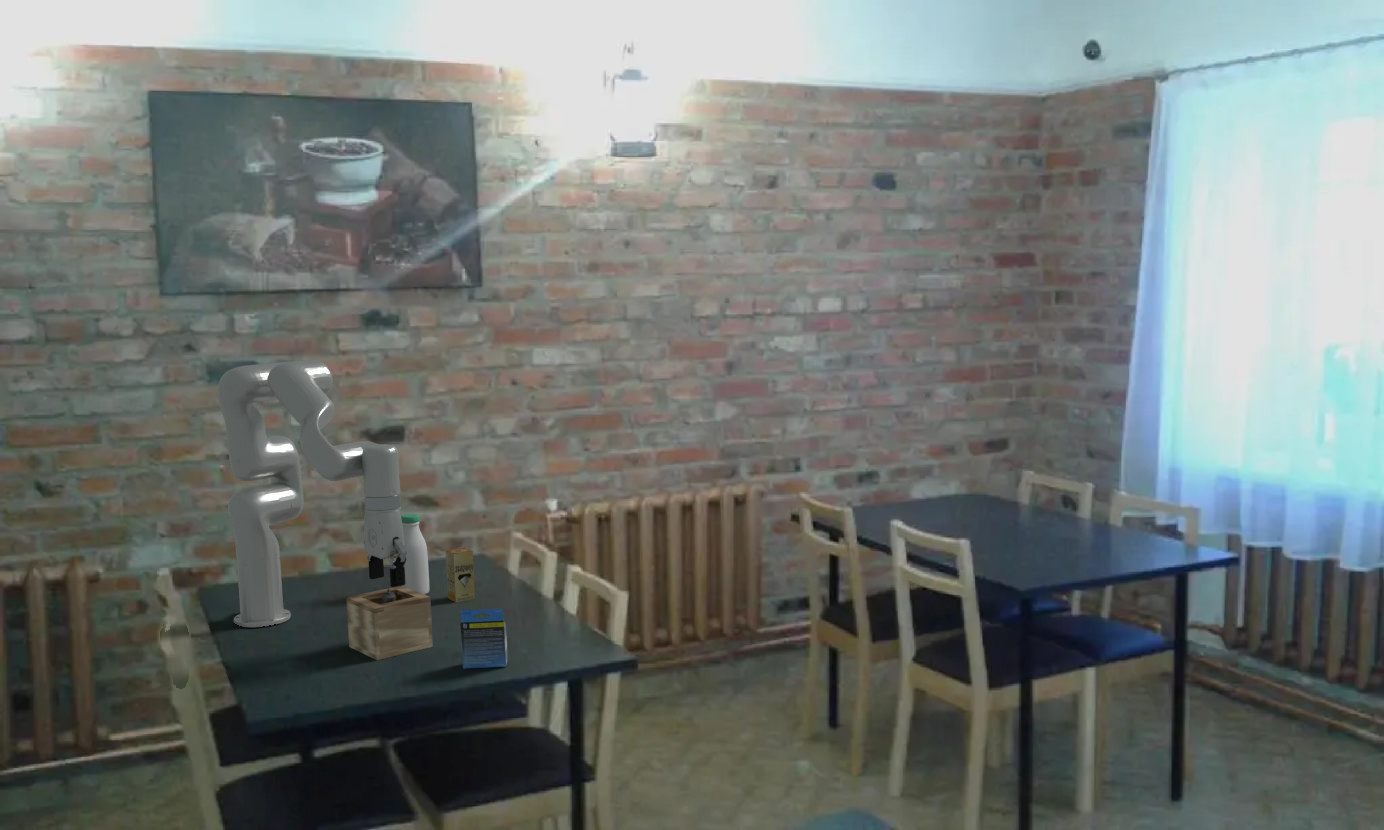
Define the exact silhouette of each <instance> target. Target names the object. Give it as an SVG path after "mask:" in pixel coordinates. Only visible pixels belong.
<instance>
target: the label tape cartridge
mask: <svg viewBox="0 0 1384 830" xmlns="http://www.w3.org/2000/svg"><path fill="white" fill-rule="evenodd" d="M503 610H504V609H503V607H502V608H479V609H478V608H477V609H475V608H474V609H459V616H460V620H459V626H460V628H459V629H460V640H461V655H462V656H461V658H462V659H461V660H462V669H464V670H466V669H469V670H470V669H485V668H506V667H507V665H508V641H507V640H508V639H507V638H508V637H507V623H506V621H504V620H505V619H504V613H503V612H504V611H503ZM481 614H482V615H486V616H487V615H488V616H487V617H485V616H484V617H475V616H479V615H481Z"/></svg>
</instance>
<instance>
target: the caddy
mask: <svg viewBox="0 0 1384 830" xmlns="http://www.w3.org/2000/svg"><path fill="white" fill-rule="evenodd" d="M389 589H390V592H392V593H394V594H395V596H396V601H394V602H389V603H384V604H382V595H383V594H384V593H386V592H388V591H387V590H388V588H384V589H379V590H376V591H371V592H365V593H364V592H363V593H359V594H356V595H351V596H346V597H345V599H346V612H347V613H346V614H347V616H346V618H347V632H348V647H349V648H351V649H353V650H355V651H357V652H359V653H361V654H364V655H365V656H368V657H370V658H372V659H373V660H375V661H380V660H384V659H387V658H388V659H389V658H392V657H395V656H400V655H404V654H409V653H412V652H417V651H421V650H426V649H429V648H432V647H433V646H434V645H433V625H432V623H433V622H432V607H431V605H432V603H431V596H430V595H427V594H425V595H424V594H422V593H419V592H416V591H414V590H411V589H408V588H406V587H403V586H398V587H390V588H389Z"/></svg>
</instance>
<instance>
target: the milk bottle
mask: <svg viewBox="0 0 1384 830" xmlns="http://www.w3.org/2000/svg"><path fill="white" fill-rule="evenodd" d="M401 520H402V527H403V536H404V546H405V548H406V549H407V555H406V562H405V564H406V566H405V585H403V587H406V588H408V589H411V590H414V591H416V592H419V593H422V594H424V595H427V594H429V593H430V575H429V574H430V573H429V557H428V548H427V542H426V540H425V538H424V536H423V534H422V532H421V530H420V515H419V514H418V513H406V514H402V515H401Z"/></svg>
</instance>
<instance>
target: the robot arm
mask: <svg viewBox="0 0 1384 830" xmlns="http://www.w3.org/2000/svg"><path fill="white" fill-rule="evenodd" d="M330 370H331V369H329V367H328V366H327V365H326V364H325V363H323V362H322V361H320V360H317V359H307V360H306V359H305V360H297V361H295V360H294V361H281V362H271V363H257V364H248V365H242V366H236V367H234V368H233V367H232V368H231V369H228V370H227V371H225V372H224V373H223V374H222V376H221V377H220V379H219V381H218V383H217V384H218V385H217V392H216V393H217V394H216V395H217V400H218V405H219V408H220V410H221V414H222V417H223V420H224V425H225V433H226V440H227V441H226V442H227V450H228V451H227V452H228V459H229V466H230V470H231V473H232V476H233V477H234V478H235V479H236V480H238V481H240V482H252V481H258V480H262V479H264V480H265V479H269V478H270V482H271V483H266V484H263V483H262V484H259V485H253V486H249V487H244V488H242V489H240V490H237V491H236V492H234V493H233V495H231V497H230V499H229V500H228V503H227V510H228V516H229V519H230V523H231V527H232V531H233V537H234V538H233V539H234V544H235V556H236V557H235V558H236V568H237V583H238V598H239V611H240V613H239V614H237V615H236V616H235V617H233V623H235V624H237V625H239V626H238V627H240V626H242V627H241V628H263V626H265V627H270V626H269V625H271V626H275V625H274V624H276V625H279V624H283V623H285V622H287V621H288V620H290V619H291V616H292V613H291V611H290V610H288V609H285V608H284V600H283V598H284V597H283V583H282V569H281V568H282V567H281V565H282V564H281V554H280V544H279V541H278V538H277V537H276V536H275V534H274V533H273V531H272V530H271V529H270V526H272V525H273V526H274V525H276V524H279V523H283V522H288V521H292V520H295V519H296V518H298V517H299V516H300V515H301V514H302V512H303V509H304V503H305V501H304V500H305V499H304V496H305V495H304V487H303V478H302V470H301V461H300V455H299V452H298V449H297V448H296V445H295V444H294V442H293V441H292V440H291V439H290V438H289V437H287V436H284V435H272V436H271V435H270V436H268V435H267V432H266V424H265V419H264V417H263V415H262V413H261V411H260V410H259V409H258V408H257V407H256V405H255V404H254V403H258V402H268V401H275V400H278V401H279V403H281V405H282V406H283V407H284V408H285V409H286V411H287V412H288V413H289V414H290V416H291V417H292V418H293V419H294V420H295V421H296V423H297V424H298V425H299V427H301V428H300V431H299V442H300V446H301V451H302V455H304V457H305V459H306V461H307V462H308V463H309V464H310V465H311V467H312V468H313V469H314V470H315V471H316V472H317V473H318V474H319V476H321V477H322V478H323V479H325V480H327V481H329V482H340V481H345V480H349V479H355V478H360V477H363V479H362V480H363V496H364V497H363V498H364V517H363V518H364V519H363V520H364V521H363V545H364V546H363V547H364V553H366V556H367V557H366V558H367V560H368V577H369V579H370V580H376V579H380V578H383V577H385V569H384V560H386V559H387V560H388V562H389V565H390V567H391V568H389V584H390V588H393V587H398V586H403V585H405V566H406V564H405V562H406V555H407V549H406V548H405V546H404V536H403V527H402V520H401V516H402V515H401V510H402V494H401V475H400V474H401V473H400V458H399V450H398V448H397V446H395V445H393V444H385V443H383V444H379V443H376V442H373V441H369V440H361V441H354V442H348V443H341V444H336V445H333V444H331V443H330V442H329V441H328V439H327V438H326V437H325V436H324V435H323V434H322V432H321V430H322V429H323V428H325V427H326V426H327V425H328V424H329V423H330V422H331V421H332V419H333V417H334V415H335V413H336V412H335V411H336V407H335V404H334V403H333V401H332V400H331V398H330V397H328V395H327V394H328V393H329V392H330V391H331V390H332V387H333V385H334V384H333V383H334V382H333V381H334V380H333V375H332V372H331V371H330ZM235 624H234V625H235ZM237 625H236V626H237Z"/></svg>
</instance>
